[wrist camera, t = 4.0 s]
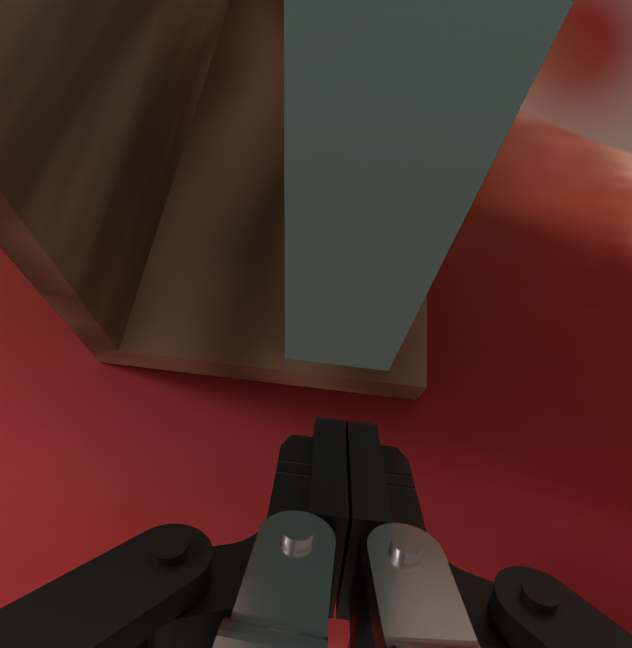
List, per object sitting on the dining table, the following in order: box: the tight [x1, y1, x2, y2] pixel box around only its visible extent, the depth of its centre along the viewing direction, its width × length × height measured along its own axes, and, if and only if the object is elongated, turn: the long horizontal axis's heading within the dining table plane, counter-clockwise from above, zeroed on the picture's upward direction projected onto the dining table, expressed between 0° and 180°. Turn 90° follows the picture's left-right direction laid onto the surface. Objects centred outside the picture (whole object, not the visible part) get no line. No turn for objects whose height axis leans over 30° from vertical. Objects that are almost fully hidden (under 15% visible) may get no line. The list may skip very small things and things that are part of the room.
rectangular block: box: [284, 0, 574, 371], centre depth 15 cm, size 4×11×14 cm, turn 174°
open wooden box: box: [0, 0, 427, 400], centre depth 20 cm, size 13×26×14 cm, turn 174°
